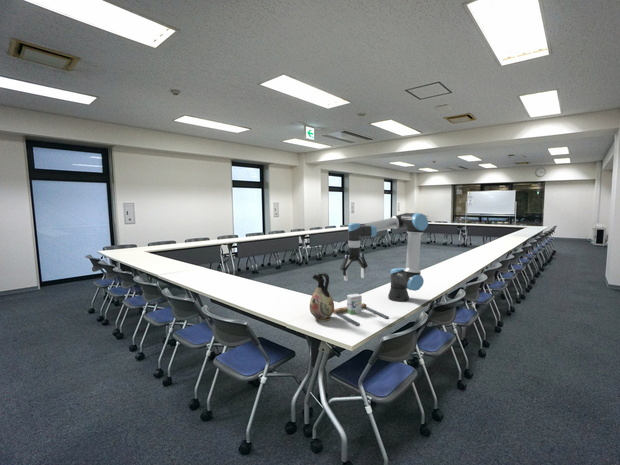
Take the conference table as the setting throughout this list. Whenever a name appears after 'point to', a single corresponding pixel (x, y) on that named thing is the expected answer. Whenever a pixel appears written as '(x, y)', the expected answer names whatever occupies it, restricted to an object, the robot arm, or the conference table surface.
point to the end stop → (345, 309)
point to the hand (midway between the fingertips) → (354, 279)
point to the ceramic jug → (321, 299)
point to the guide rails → (357, 322)
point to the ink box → (354, 303)
